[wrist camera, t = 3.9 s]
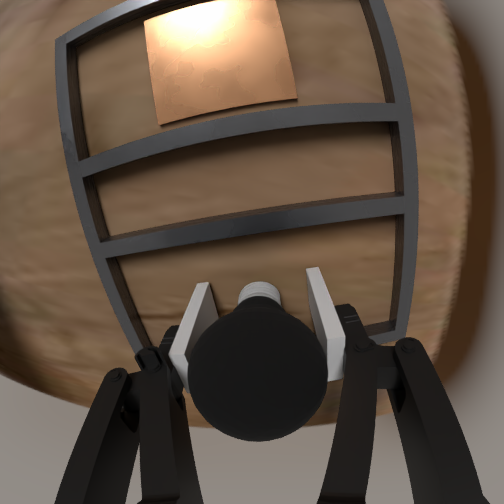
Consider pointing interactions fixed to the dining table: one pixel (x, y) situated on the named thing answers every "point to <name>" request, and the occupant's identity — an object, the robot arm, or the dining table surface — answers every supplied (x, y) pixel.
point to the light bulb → (257, 369)
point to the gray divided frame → (234, 133)
